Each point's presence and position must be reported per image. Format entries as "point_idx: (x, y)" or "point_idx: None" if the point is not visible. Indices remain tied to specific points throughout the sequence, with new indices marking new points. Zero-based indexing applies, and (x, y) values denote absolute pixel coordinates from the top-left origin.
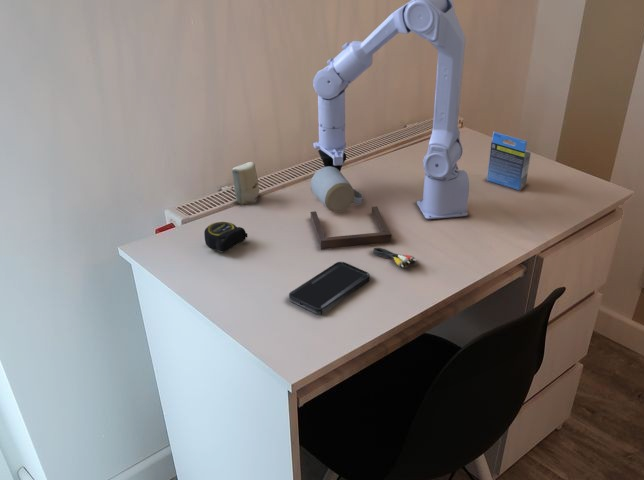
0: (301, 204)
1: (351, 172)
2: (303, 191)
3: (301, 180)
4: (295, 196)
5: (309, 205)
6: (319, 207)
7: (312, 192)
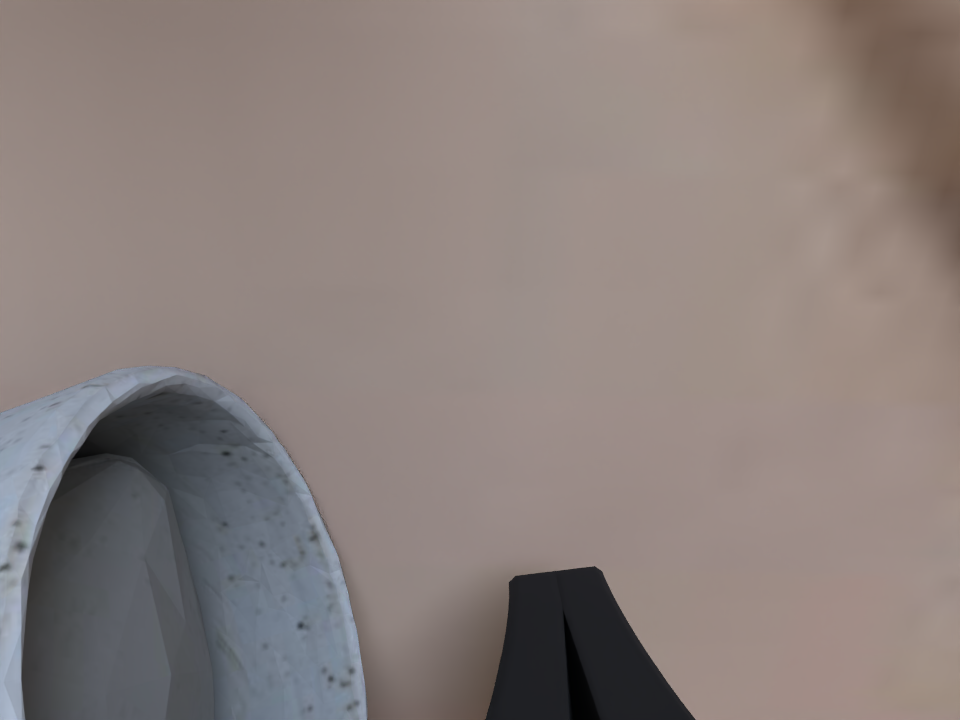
0: (49, 115)
1: (957, 709)
2: (527, 161)
3: (934, 138)
4: (342, 15)
5: (39, 241)
6: (5, 374)
7: (115, 370)
